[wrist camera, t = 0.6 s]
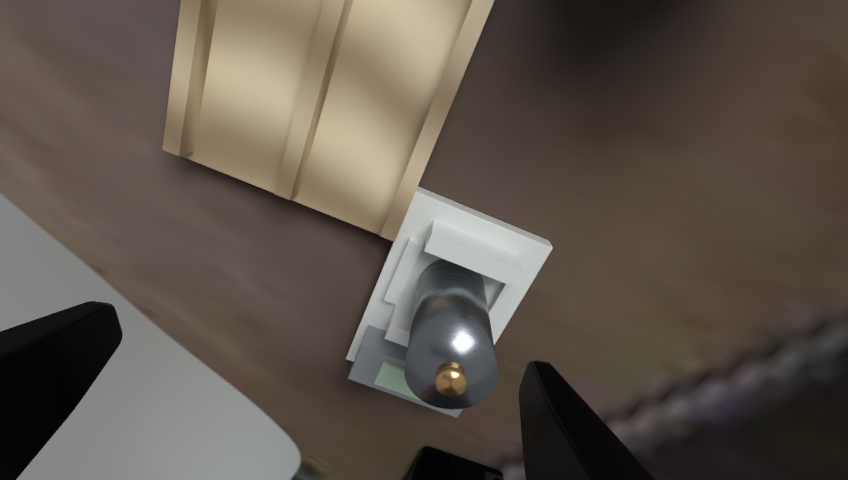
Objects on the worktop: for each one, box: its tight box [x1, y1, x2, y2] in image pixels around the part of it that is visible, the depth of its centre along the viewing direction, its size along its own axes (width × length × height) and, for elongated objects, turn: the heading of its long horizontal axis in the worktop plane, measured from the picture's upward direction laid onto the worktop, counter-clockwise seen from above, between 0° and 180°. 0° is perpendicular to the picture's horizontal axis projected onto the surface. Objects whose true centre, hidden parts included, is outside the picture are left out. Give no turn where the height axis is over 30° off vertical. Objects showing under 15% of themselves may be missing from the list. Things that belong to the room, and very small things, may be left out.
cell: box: [404, 259, 498, 409], centre depth 19 cm, size 4×4×8 cm
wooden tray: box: [162, 0, 494, 242], centre depth 18 cm, size 14×12×2 cm
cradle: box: [346, 187, 553, 418], centre depth 22 cm, size 12×8×3 cm, turn 158°
